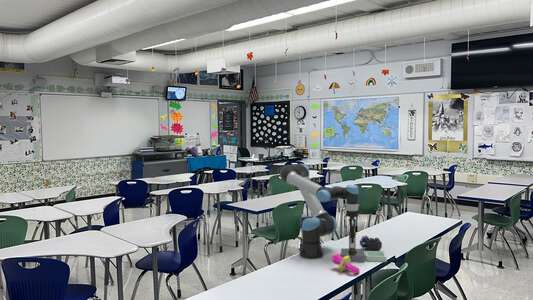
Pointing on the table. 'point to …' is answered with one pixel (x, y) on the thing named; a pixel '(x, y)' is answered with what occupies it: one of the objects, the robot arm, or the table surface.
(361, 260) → the hitch block
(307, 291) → the table surface
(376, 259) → the tray
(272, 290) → the table surface
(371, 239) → the toy
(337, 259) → the toy
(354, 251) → the pin
